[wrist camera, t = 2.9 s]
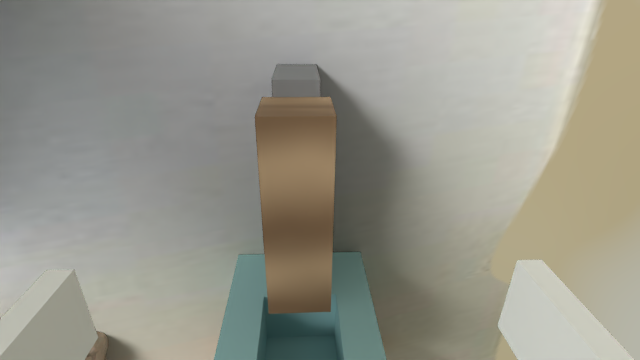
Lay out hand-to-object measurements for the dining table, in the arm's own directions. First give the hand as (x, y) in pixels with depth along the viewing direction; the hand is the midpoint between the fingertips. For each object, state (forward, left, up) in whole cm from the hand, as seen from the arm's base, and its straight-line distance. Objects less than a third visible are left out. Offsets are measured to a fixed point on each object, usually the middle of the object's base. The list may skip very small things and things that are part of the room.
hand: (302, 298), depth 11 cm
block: (+16, 0, -19) cm, 24 cm away
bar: (+3, 0, -13) cm, 13 cm away
